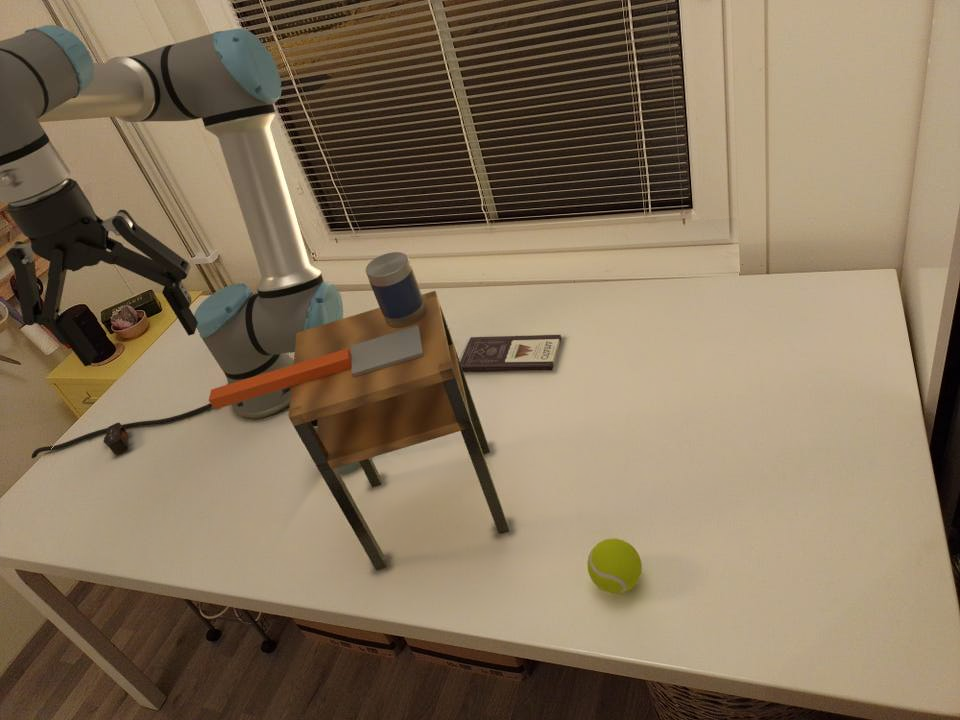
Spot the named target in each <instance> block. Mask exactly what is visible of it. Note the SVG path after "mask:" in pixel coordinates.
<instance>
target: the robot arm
mask: <svg viewBox="0 0 960 720" xmlns="http://www.w3.org/2000/svg"><path fill="white" fill-rule="evenodd" d="M281 96H282V80H281V76H280V73H279V69H278V67H277V65H276V62H275V60H274V58H273V56H272V55H271V53H270V51H269V49H268V48H267V47H266V45H265V44H264V43H263V42H262V41H261V40H260V39H259V38H258V37H257V35H255V34H254V33H253V32H251V31H249V30H247V29H244V28H233V29H227V30H220V31H214V32H212V33H208V34H205V35H201V36H198V37H197V36H196V37H194V38H191V39H187V40H184V41H180V42H177V43H172V44H168V45H164V46H161V47H158V48H155V49H152V50H148V51H145V52H142V53H139V54H134V55H131V56H130V55H129V56H113V57H111V58H110V59H108V60H107V61H105V62H94V61H93V57H92V56H91V54H90V51H89V50H88V48H87V46H86V45H85V43H84V42H83V41H82V40H81V39H80V37H78V36H77V35H76V34H74V33H73V32H71V30H68V29H67V28H65V27H61V26H59V25H55V24H45V25H41V26H39V27H33V28H29V29H26V30H25V31H24V33H22V34H19V35H16V36H12V37H9V38H6V39H2V40H0V202H1V203H3V204H8V205H7V206H6V207H7V209H6V212H7V214H8V215H9V216H10V218H11V219H12V220H13V222H14V223H15V225H16V226H17V227H18V229H19V230H20V232H21V233H22V234H23V236H24V237H26V238H28V240H29V242H26V243H25V242H23V241H20V240H16V241H15V242H14V243H13V244H12V245H11V247H10V248H9V249H8V250H7V251H6V254H5V255H6V258H7V260H8V261H9V263H10V264H11V267H12V268H13V269H14V276H15V280H16V287H17V293H18V298H19V299H18V300H19V305H20V311H21V317H22V322H23V323H24V324H25V325H27V326H33V325H34V324H42V325H44V326H46V327H47V328H48V329H49V331H50V332H51V333H52V335H53V336H54V337H55V338H56V340H57V341H58V343H60V344H61V345H62V346H64V345H68V346H69V348H70V349H71V350H72V352H73V353H74V355H76V357H77V359H78V360H79V361H80V362H81V363H82V365H83V366H84V367H89V366H91V365H92V363H93V362H94V360H95V357H96V356H97V353H98V352H97V350H96V349H95V347H94V346H93V345H92V344H91V342H90V341H89V339H88V338H87V337H86V336H85V334H84V333H83V331H82V330H81V328H80V327H79V326H78V325H77V323H76V322H75V320H74V319H73V318H72V316H71V315H70V313H69V312H68V311H64V312H61V313H60V311H61V308H60V307H61V302H62V297H63V293H64V292H63V291H64V287H65V282H66V277H67V276H66V275H67V271H71V272H77V271H79V270H81V269H82V268H84V267H93V266H97V265H99V264H100V262H103V263H105V264H108V265H116V266H118V267H121V268H123V269H125V270H127V271H129V272H130V273H131V272H132V273H134V274H135V275H138V276H140V277H142V278H145V279H147V280H149V281H151V282H154V283H156V284H158V285H160V286H162V287H163V289H162V292H161V294H162V296H163V297H164V298H165V300H166V302H167V303H168V305H169V307H170V308H171V310H172V311H173V313H174V315H175V316H176V318H177V320H178V321H179V323H180V324H181V326H182V327H183V329H184V331H185V332H186V334H187V336H193V335H195V333H196V330H197V331H198V333H199V337H200V338H201V339H202V341H203V343H204V344H205V346H206V347H207V349H208V351H209V352H210V353H211V355H212V356H213V358H214V360H215V361H216V363H217V365H218V366H219V368H220V369H221V371H222V372H223V374H224V376H225V377H226V381H227V385H228V384H231V383H235V382H238V381H241V380H245V379H248V378H251V377H254V376H258V375H261V374H264V373H268V372H271V371H274V370H278V369H281V368H284V367H288V366H291V365H294V357H292V356H290V355H289V354H290V353H295V343H296V333H297V332H301V331H304V330H307V329H311V328H314V327H317V326H320V325H324V324H327V323H330V322H334V321H337V320H340V319H344V304H343V299H342V294H341V293H340V292H341V291H340V290H339V289H338V287H337V285H335V284H334V283H333V282H329V281H324V279H323V278H324V277H323V275H322V274H323V273H322V272H321V270H320V269H318V268H317V267H315V266H313V265H312V264H311V262H310V260H309V256H308V252H307V249H306V246H305V243H304V240H303V239H304V238H303V236H302V233H301V229H300V226H299V223H298V222H299V221H298V219H297V216H296V215H297V214H296V212H295V207H294V205H293V201H292V197H291V194H290V191H289V187H288V185H287V180H286V178H285V173H284V171H283V167H282V163H281V160H280V156H279V153H278V150H277V146H276V142H275V139H274V136H273V133H272V129H271V124H272V122H273V121H274V119H275V117H276V115H277V113H276V109H275V106H274V103H277V101H278V100H280V98H281ZM102 118H117V119H119V120H121V121H123V122H126V123H141V122H144V123H147V122H185V121H186V122H187V121H194V120H200V119H201V120H202V123H203V126H204V129H205V130H206V131H208V132H209V133H211V134H213V135H214V136H215V137H217V138H218V142H219V145H220V149H221V152H222V155H223V158H224V161H225V164H226V168H227V170H228V173H229V177H230V180H231V183H232V186H233V190H234V193H235V196H236V199H237V202H238V205H239V209H240V211H241V214H242V218H243V221H244V223H245V227H246V230H247V234H248V237H249V240H250V243H251V247H252V249H253V253H254V256H255V259H256V262H257V265H258V269H259V271H260V275H261V277H260V279H259V281H258V283H257V285H256V291H257V293H253V291H252V288H251V287H249V286H248V285H247V284H246V283H242V282H240V283H239V282H238V283H233V284H229V285H227V286H225V287H222V288H221V289H219V290H217V291H215V292H214V293H212V294H210V295H209V296H207V298H205V299H204V300H203V301H202V302H201V303H200V304H199V305H198V306H197V308H196V309H195V311H194V313H193V311H192V310H191V308H190V307H191V304H192V296H191V295H190V293H189V292H188V290H187V288H186V286H185V285H184V283H183V280H185V279H187V277H188V275H189V272H190V270H191V263H190V262H188V261H187V260H186V259H185V258H183V257H182V256H181V255H179V254H178V253H176V252H175V251H174V250H173V249H171V248H170V247H168V246H167V245H166V244H164V242H162V241H160V240H159V239H157V238H156V237H155V236H153V235H152V234H151V233H150V232H148V231H147V230H145V229H144V228H142V227H141V226H140V225H139V224H138V223H137V222H136V221H135V220H134V218H133V217H132V216H131V214H130V213H129V212H128V211H127V210H125V209H119V210H118V211H117V212H116V214H114V215H113V216H111V217H108V218H106V219H102V218H101V217H99V216H98V215H97V214H96V212H95V210H94V208H93V206H92V203H91V202H90V200H89V199H88V197H87V196H86V194H85V192H84V191H83V190H82V188H81V186H80V185H79V183H78V182H77V180H75V179H73V178H70V176H71V170H70V169H69V167H68V165H67V164H66V163H65V161H64V159H63V158H62V157H61V155H60V153H59V151H57V149H56V148H55V146H54V145H53V143H52V141H51V140H50V137H49V136H48V135H47V134H48V133H46V131H45V129H44V128H43V126H42V125H41V123H48V122H49V123H50V122H60V121H61V122H62V121H75V120H89V119H102ZM110 232H112V233H114V235H115V236H117V237H119V236H121V238H123V240H124V241H126V242H127V243H128V244H130V245H131V246H132V247H134V248H135V249H137V250H138V251H139V252H141V253H142V254H141V253H139V252H136V251H135V250H132V249H130V248H128V247H126V246H124V245H123V243H121V242H120V241H118V240H116V239H113V238H111V237H109V233H110ZM143 254H144V255H143ZM36 256H37V257H40V258H42V259H44V260H46V261H48V262H49V265H48V271H47V283H46V289H45V293H44V298H43V299H44V300H43V305H41V299H40V291H39V286H38V278H37V272H36V264H35V261H34V260H35V258H36ZM59 313H60V314H59ZM291 387H292V386H291ZM291 387H288V388H284V389H281V390H278V391H274V392H271V393H268V394H265V395H261V396H258V397H255V398H251V399H248V400H245V401H241V402H238V403H235V404H231V406H232V407H233V409H234V410H235V412H236V413H237V414H238V416H240V417H242V418H245V419H261V418H267V417H270V416H272V415H275V414H277V413H279V412H281V411H283V410H285V409H287V408H288V407H290V398H291ZM211 408H213V406H212V405H211V403H210V402H209V403H207V404H206V405H203V406H200V407H198V408H195V409H193V410H190V411H188V412H183V413H180V414H178V415H177V414H176V415H173V416H170V417H166V418H162V419H153V420H143V421H142V420H141V421H135V422H130V423H129V422H128V423H125V424H121V425H122V426H123V428H124V429H125V430H126V429H130V428H137V427H144V426H145V427H146V426H155V425H157V426H158V425H162V424H167V423H171V422H175V421H180V420H183V419H187V418H190V417H192V416H194V415H197V414H200V413H203V412H204V411H207V410H209V409H211ZM107 428H108V427H106V428H102V429H99V430H95V431H92V432H89V433H85V434H83V435H81V436H78V437H75V438H73V439H71V440H68V441H65V442H63V443H60V444H55V445H49V446H41V447H38V448H37V449H35V450H34V451H33V452H32V454H31V459H35V458H36V457H37V456H38V455H39V454H40V453H42V452H49V451H51V452H52V451H57V450H60V449H63V448H67V447H70V446H72V445H75V444H78V443H80V442H82V441H85V440H88V439H90V438H93V437H96V436H100V435H104V434H106V429H107ZM53 446H54V447H53ZM52 447H53V448H52ZM51 448H52V449H51Z"/></svg>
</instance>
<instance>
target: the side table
mask: <svg viewBox="0 0 960 720" xmlns="http://www.w3.org/2000/svg"><path fill="white" fill-rule="evenodd" d="M422 297H423V301H424V304H425V306H426V313H425V315H424V316H423V317H422V318H421V319H420V320H419V321H417V322H416V323H414V324H412V325H409V326H406V327H399V328H397V327H391V326H389V325H388V324H387V323H386V320H385V318H384V316H383V314H382V312H381V309H380V307H377V308H373V309H370V310H367V311H364V312H361V313H357V314H354V315H350V316H346V317H343V319H340V320H337V321H334V322H330V323H327V324H324V325H320V326H317V327H314V328H311V329H307V330H304V331H301V332H297V333H296V343H295V352H294V353H293V354H294V356H293V359H294V364H298V363H301V362H304V361H307V360H311V359H314V358H317V357H321V356H324V355H327V354H331V353H334V352H337V351H341V350H344V349H347V348H348V349H349V351H350V353H351V346H352V345H355V344H358V343H362V342H365V341H368V340H372V339H375V338H378V337H382V336H385V335H388V334H391V333H395V332H398V331H401V330H405V329H408V328H411V327H415V326H419V328H420V334H421V341H422V347H423V353H424V356H422V357H418V358H415V359H412V360H408V361H405V362H402V363H398V364H395V365H392V366H388V367H385V368H382V369H378V370H375V371H372V372H369V373H365V374H362V375H359V376H355V377H353V376H352V368H351V369H348V370H344V371H341V372H338V373H334V374H331V375H328V376H324V377H321V378H318V379H314V380H311V381H308V382H304V383H301V384H298V385H294V386H292V387H291V398H290V405H289V411H288V419H289V421H290V423H291V425H292V426H293V429H294V430H295V432H296V433H297V435H298V436H299V438H300V440H301V442H302V444H303V445H304V447H305V449H306V451H307V452H308V454H309V456H310V458H311V459H312V461H313V463H314V465H315V467H316V468H317V470H318V471H319V474H320V476H321V477H322V479H323V480H324V482H325V483H326V486H327V487H328V489H329V491H330V493H331V494H332V496H333V498H334V499H335V502H336V503H337V505H338V507H339V509H340V510H341V512H342V514H343V515H344V517H345V519H346V520H347V522H348V524H349V526H350V527H351V529H352V531H353V532H354V535H355V536H356V538H357V540H358V542H359V544H360V545H361V547H362V548H363V550H364V552H365V553H366V556H367V558H368V559H369V561H370V562H371V564H372V566H373V569H374V570H375V571H380V570H383V569H386V568H387V557H386V555H385V554H384V553H383V550H382V549H381V546H380V545H379V544H378V541H377V540H376V538H375V536H374V535H373V533H372V530H371V529H370V527H369V525H368V523H367V521H366V519H365V517H364V515H363V514H362V512H361V511H360V509H359V507H358V505H357V503H356V501H355V500H354V498H353V496H352V494H351V493H350V491H349V489H348V487H347V485H346V483H345V481H344V479H343V478H342V475H340V474H339V472H338V470H337V468H338V467H341V466H345V465H348V464H351V463H355V462H358V461H359V463H360V465H361V466H360V467H361V469H362V471H363V472H364V475H365V476H366V478H367V480H368V482H369V484H370V486H371V488H375V487H378V486H382V476H381V475H380V473H379V471H378V469H377V467H376V465H375V463H374V461H373V459H372V458H374V457H375V458H376V457H378V456H381V455H384V454H388V453H392V452H394V451H399V450H402V449H405V448H408V447H411V446H416V445H418V444H421V443H426V442H428V441H432V440H435V439H438V438H442V437H446V436H449V435H451V434H456V433H457V432H458V433H459V432H460V433H461V436H462V439H463V441H464V445H465V447H466V449H467V452H468V455H469V457H470V460H471V463H472V466H473V468H474V471H475V475H476V477H477V479H478V482H479V485H480V487H481V491H482V493H483V495H484V498H485V501H486V503H487V506H488V509H489V512H490V515H491V518H492V521H493V522H494V525H495V528H496V531H497V534H498V535H502V534H506V533H510V528H509V523H508V520H507V518H506V515H505V512H504V508H503V506H502V504H501V501H500V500H501V499H500V498H499V495H498V492H497V489H496V486H495V484H494V481H493V480H494V479H493V478H492V475H491V472H490V469H489V466H488V464H487V460H486V458H485V455H487V454H489V453H491V450H490V446H489V443H488V440H487V437H486V434H485V431H484V428H483V425H482V423H481V420H480V416H479V414H478V413H479V412H478V410H477V408H476V405H475V402H474V399H473V396H472V393H471V390H470V388H469V387H470V386H469V385H468V381H467V378H466V375H465V373H464V372H465V371H463V370H462V367H461V364H460V361H461V360H460V358H459V355H458V352H457V349H456V347H455V343H454V341H453V338H452V335H451V331H450V329H449V326H448V323H447V320H446V317H445V315H444V311H443V309H442V306H441V305H442V304H441V303H440V299H439V297H438V295H437V291H436V290H432V291H430V292H426V293H423V294H422ZM316 419H318V425H317V432H316V430H315V428H314V426H313V425H312V423H311V421H313V420H316Z"/></svg>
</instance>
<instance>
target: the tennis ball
mask: <svg viewBox="0 0 960 720" xmlns="http://www.w3.org/2000/svg"><path fill="white" fill-rule="evenodd" d="M642 570H643V567H642V560H641V557H640V554H639V552H638V551H637V550H636V548H635V547H634V546H633V545H631V543H629V542H627V541H625V540H623V539H620V538H606V539H604V540H601V541H599V542H597V544H596V545H594V546H593V548H592V549H591V550H590V552H589V555H588V558H587V572H588V576H589V577H590V579H591V580H592V582H593V583H594V585H595V586H596V587H597V588H598V589H600V590H601V591H603V592H605V593H608V594H623V593H627V592H628V591H630V590H632V589H633V588H634V587H635V586H637V584H638V582H639V580H640V578H641V575H642Z"/></svg>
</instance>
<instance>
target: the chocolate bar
mask: <svg viewBox="0 0 960 720" xmlns="http://www.w3.org/2000/svg"><path fill="white" fill-rule="evenodd" d="M561 342H562V335H561V334H538V335H535V334H534V335H532V334H531V335H503V336H502V335H499V336H498V335H497V336H471V337H470V338H469V340H468V342H467V345H466V348H465V349H464V351H463V355H462V357H461V359H460V360H459V361H460V364H461V367H462V370H463V372H517V371H518V372H519V371H520V372H522V371H523V372H525V371H527V372H528V371H529V372H530V371H532V372H533V371H534V372H535V371H553V369H554V366H555V362H556V360H557V359H556V358H557V355H558V352H559V348H560V345H561Z"/></svg>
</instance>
